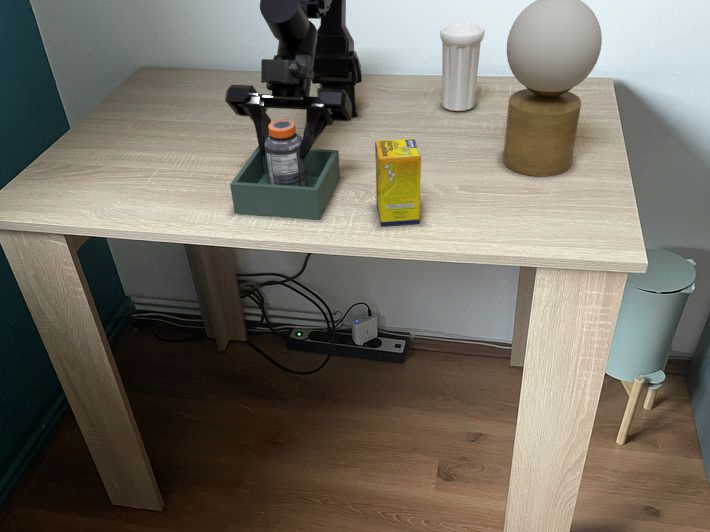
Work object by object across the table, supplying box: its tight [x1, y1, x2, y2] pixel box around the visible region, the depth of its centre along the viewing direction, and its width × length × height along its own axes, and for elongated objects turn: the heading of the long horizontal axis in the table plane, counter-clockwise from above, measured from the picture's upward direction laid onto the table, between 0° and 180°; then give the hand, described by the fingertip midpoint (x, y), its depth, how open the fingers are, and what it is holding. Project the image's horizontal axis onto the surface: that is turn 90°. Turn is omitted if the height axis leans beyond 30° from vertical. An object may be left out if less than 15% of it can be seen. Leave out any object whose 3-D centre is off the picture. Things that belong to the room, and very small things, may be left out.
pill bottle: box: [264, 119, 308, 187], centre depth 112 cm, size 6×6×11 cm
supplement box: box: [374, 137, 422, 228], centre depth 106 cm, size 6×6×11 cm
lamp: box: [502, 0, 603, 177], centre depth 115 cm, size 15×14×25 cm
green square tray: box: [229, 145, 341, 221], centre depth 114 cm, size 14×14×5 cm
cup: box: [439, 22, 486, 112], centre depth 137 cm, size 8×8×14 cm
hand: (282, 157), depth 110 cm, fingers closed on pill bottle, 6 cm apart
